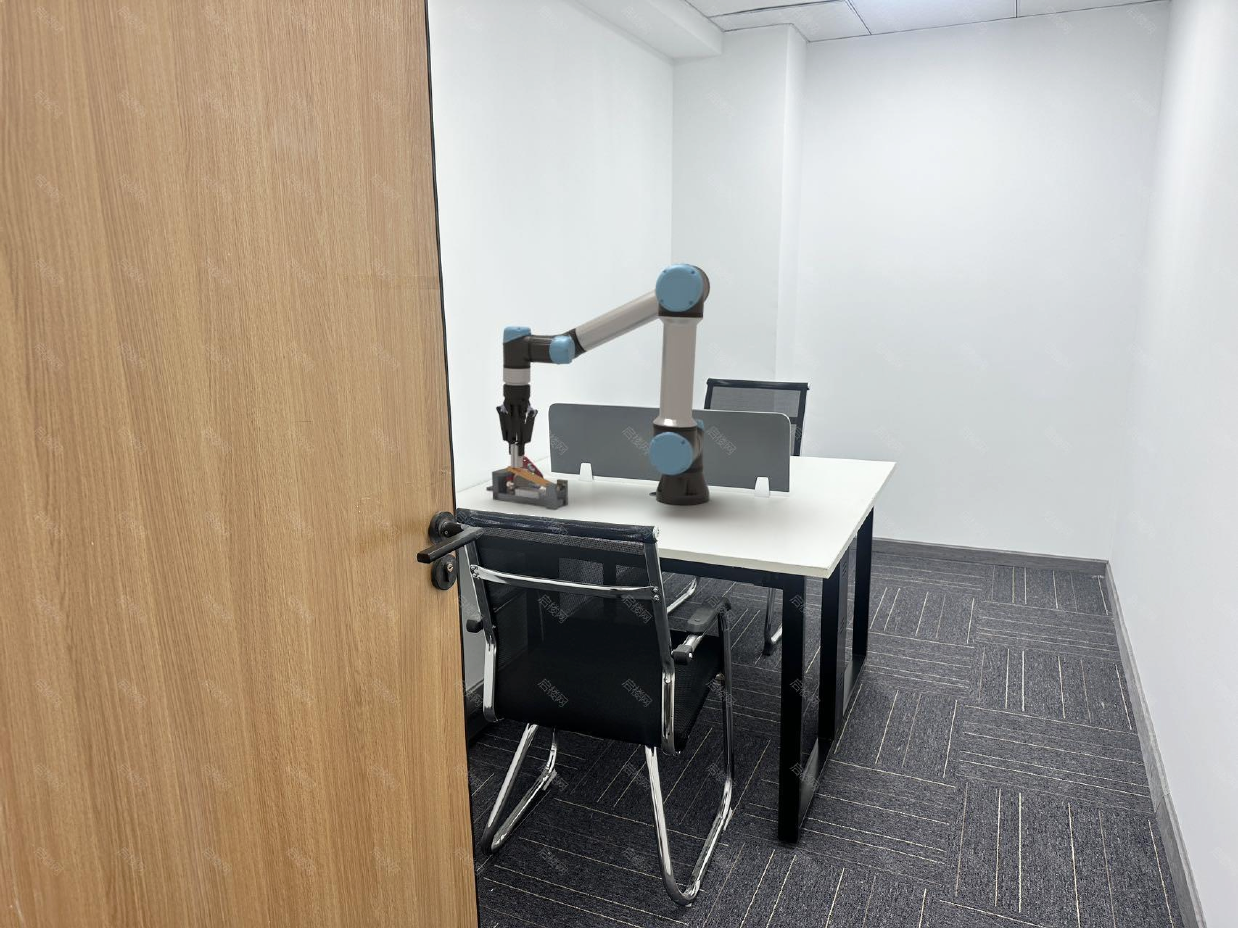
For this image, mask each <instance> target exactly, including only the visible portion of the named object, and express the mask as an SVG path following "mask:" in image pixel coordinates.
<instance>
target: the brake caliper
mask: <svg viewBox="0 0 1238 928" xmlns="http://www.w3.org/2000/svg"><path fill="white" fill-rule="evenodd" d="M520 468H522V469H525V470H527V471H529V472H531V473H533V474H535V475H537V476H540V477H542V478H544V474H543V472H541V470H540V469H539V468H538V467H537V465H535V464H534V462H532V461H531V459H529V458H528V456H527V455H524V456H523V467H520ZM509 476H510V477H509ZM544 479H545V478H544ZM521 487H529V488H536V489H541V487H542V486H540V485H538V484H536V483H534V482H532V481H530V480H528V479H525V478H523V477H521V476H519V475H517V474H516V475H514V473H513V472H512V474H511V475H507V490H508V491H515V489H517V488H521Z"/></svg>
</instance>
